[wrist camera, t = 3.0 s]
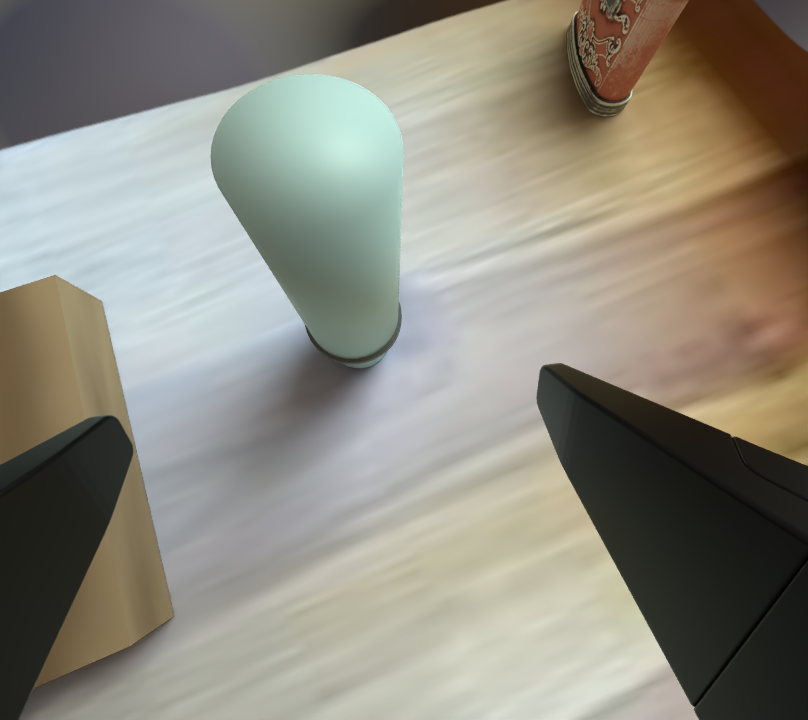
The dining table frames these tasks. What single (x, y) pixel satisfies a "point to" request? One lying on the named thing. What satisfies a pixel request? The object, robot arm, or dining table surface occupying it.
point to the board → (56, 412)
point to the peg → (321, 205)
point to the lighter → (616, 47)
